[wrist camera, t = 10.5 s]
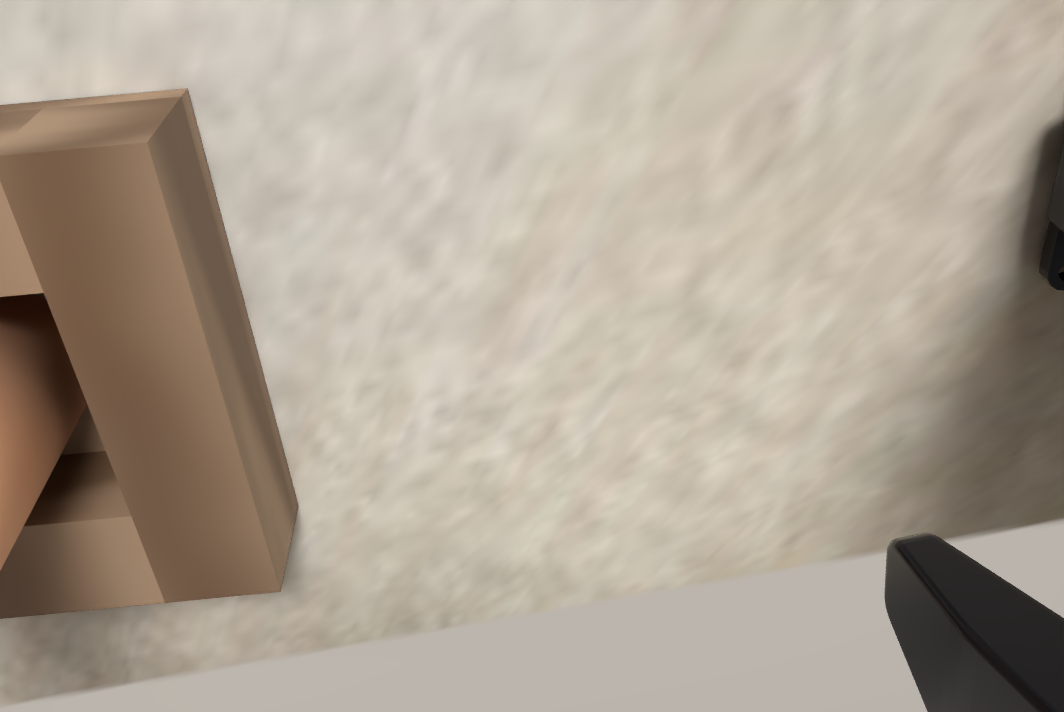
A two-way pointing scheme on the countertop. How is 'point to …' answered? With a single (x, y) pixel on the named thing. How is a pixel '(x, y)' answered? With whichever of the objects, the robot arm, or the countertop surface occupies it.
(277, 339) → the countertop surface
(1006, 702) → the robot arm
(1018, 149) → the countertop surface
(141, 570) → the socket block
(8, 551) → the peg
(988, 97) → the countertop surface
